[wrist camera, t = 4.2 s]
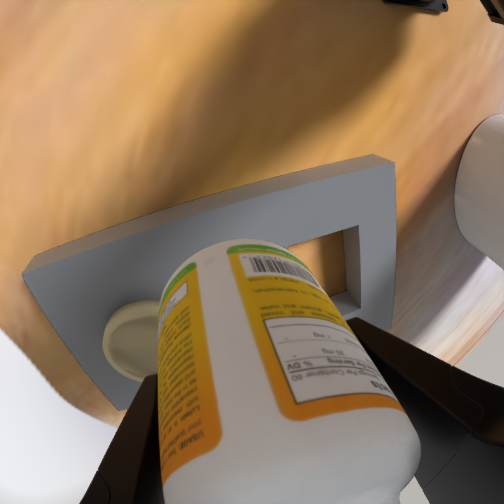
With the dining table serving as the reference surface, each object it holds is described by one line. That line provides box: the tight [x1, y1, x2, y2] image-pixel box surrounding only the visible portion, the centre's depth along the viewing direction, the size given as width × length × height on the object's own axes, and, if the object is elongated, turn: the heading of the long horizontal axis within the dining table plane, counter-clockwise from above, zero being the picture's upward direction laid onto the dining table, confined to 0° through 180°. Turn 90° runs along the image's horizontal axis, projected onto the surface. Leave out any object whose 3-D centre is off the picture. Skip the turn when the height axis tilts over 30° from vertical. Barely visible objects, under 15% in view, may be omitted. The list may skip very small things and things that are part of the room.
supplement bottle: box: [158, 239, 421, 504], centre depth 7 cm, size 5×5×10 cm
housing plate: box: [21, 154, 397, 411], centre depth 21 cm, size 24×14×4 cm, turn 103°
